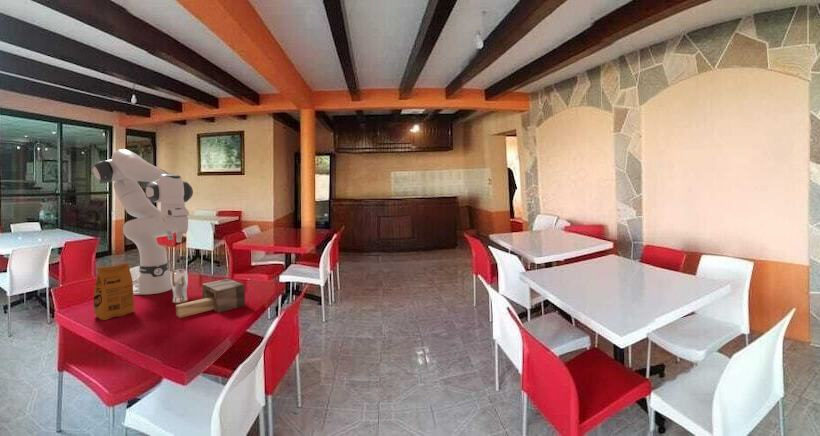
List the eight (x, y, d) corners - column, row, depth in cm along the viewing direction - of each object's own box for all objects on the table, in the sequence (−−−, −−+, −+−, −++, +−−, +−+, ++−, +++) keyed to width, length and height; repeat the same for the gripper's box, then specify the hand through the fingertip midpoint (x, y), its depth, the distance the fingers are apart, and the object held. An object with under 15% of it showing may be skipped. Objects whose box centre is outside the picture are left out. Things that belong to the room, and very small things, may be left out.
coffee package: (92, 316, 144) (88, 266, 142) (128, 307, 155) (125, 260, 153) (100, 322, 139) (96, 269, 137) (137, 312, 150) (134, 263, 147)
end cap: (202, 304, 161) (202, 283, 160) (228, 297, 171) (228, 278, 170) (218, 312, 152) (217, 290, 151) (245, 305, 161) (244, 284, 160)
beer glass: (180, 304, 161) (178, 273, 159) (167, 302, 162) (166, 272, 161) (192, 299, 168) (190, 269, 166) (180, 298, 169) (178, 268, 167)
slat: (176, 316, 148) (175, 305, 147) (220, 305, 161) (220, 295, 161) (179, 318, 145) (179, 307, 145) (224, 307, 159) (223, 296, 158)
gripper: (156, 209, 155) (158, 239, 157) (173, 212, 143) (175, 244, 145) (172, 208, 160) (173, 237, 162) (190, 211, 148) (191, 242, 150)
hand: (174, 241), depth 153 cm, fingers open, 8 cm apart
